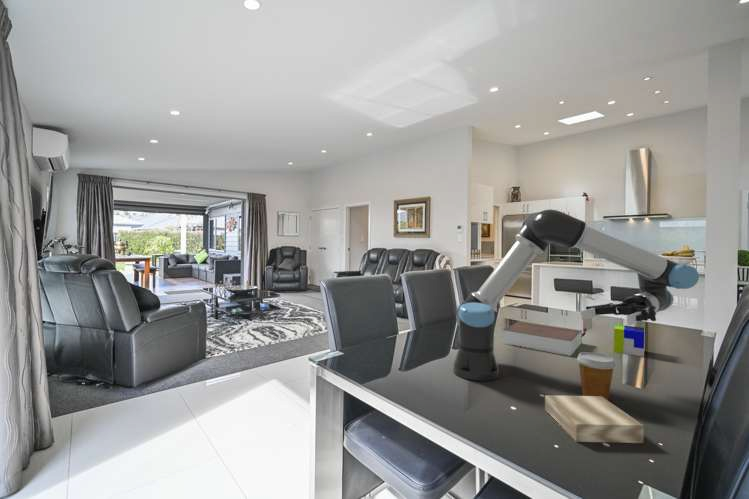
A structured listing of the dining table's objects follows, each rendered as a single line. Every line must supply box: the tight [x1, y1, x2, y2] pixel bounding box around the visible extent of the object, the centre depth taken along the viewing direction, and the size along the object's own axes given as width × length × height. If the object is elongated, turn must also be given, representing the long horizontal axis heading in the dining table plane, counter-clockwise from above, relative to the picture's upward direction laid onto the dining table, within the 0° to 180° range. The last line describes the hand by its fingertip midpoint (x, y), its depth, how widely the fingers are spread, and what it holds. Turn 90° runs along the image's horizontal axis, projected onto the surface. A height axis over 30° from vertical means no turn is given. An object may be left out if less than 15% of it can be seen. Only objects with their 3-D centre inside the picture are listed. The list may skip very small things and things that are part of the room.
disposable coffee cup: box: [576, 351, 617, 401], centre depth 102 cm, size 10×10×12 cm
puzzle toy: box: [613, 324, 645, 358], centre depth 147 cm, size 10×10×10 cm
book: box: [501, 320, 583, 357], centre depth 158 cm, size 24×28×6 cm
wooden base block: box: [544, 394, 645, 444], centre depth 86 cm, size 15×15×4 cm
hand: (604, 318), depth 108 cm, fingers open, 13 cm apart
